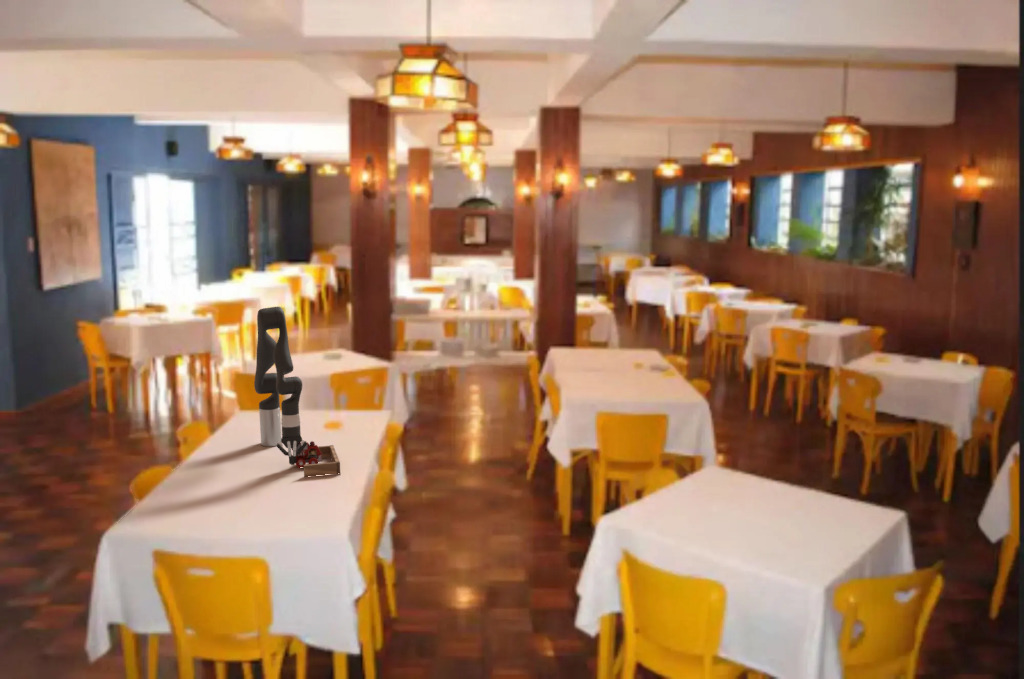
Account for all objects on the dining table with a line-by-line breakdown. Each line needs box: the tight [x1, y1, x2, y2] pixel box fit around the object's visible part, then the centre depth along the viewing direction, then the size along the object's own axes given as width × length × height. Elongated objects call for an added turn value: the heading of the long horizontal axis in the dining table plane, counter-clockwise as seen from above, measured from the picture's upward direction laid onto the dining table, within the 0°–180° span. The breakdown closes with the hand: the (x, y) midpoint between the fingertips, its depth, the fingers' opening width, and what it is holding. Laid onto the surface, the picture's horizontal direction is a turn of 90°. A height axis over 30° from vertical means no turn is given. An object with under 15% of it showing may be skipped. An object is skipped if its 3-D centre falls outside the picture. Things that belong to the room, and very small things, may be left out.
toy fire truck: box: [291, 440, 323, 469], centre depth 386 cm, size 7×12×10 cm, turn 105°
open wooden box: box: [303, 444, 341, 478], centre depth 385 cm, size 27×14×5 cm, turn 17°
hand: (292, 464), depth 381 cm, fingers closed
